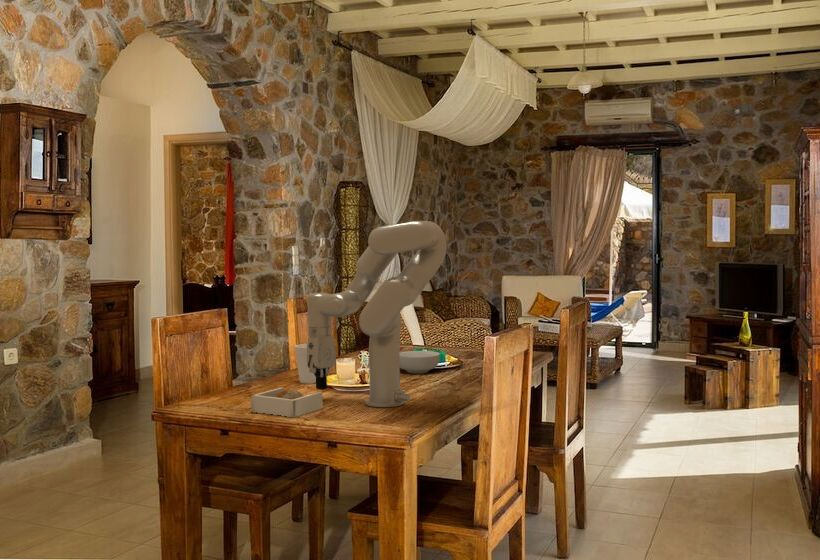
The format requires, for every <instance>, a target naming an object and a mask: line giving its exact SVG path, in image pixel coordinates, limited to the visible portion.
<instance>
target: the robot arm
mask: <svg viewBox="0 0 820 560" xmlns="http://www.w3.org/2000/svg"><path fill="white" fill-rule="evenodd" d="M367 242H368V246H367V248H366V249H365V250H364V252H363V253H362V254H361V255H360V257H359V258H358V260H357V261H356V265H355V267H356V273H355V276H354V277H353V279H352V280H351V282H350V283H349V285H348V286H347V287H346V289H345V290H344V291H341V292H337V293H332V294H329V293H327V292H314V293H310V294H309V295H307V298H306V299H307V300H306V301H307V334H308V335H307V336H308V337H307V341H306V342H307V343H306V344H307V366H308V367H309V368H310V369H309V372H310V373H314V376H315V377H316V383H315V388H316V390H322V391H325V390H326V389H328V380H327V379H328V376H329V371H330V370H331V369H332V368H333V366H335V365H336V364H337V354H336V342H335V338H334V335H333V328H332V327H333V326H332V323H333V322H332V321H333V319H332V318H343V317H345V316H348V315H352V314H354V313H357V311H358V310H359V309H360V308H361V307H362V306H363V305H364V304H365V302H366V301H367V299H368V298H369V297H370V295H371V294H372V292H373V291H374V289H375V287H376V285H377V283H378V280H379V279H380V277H381V275H383V273H384V271H385V270H386V269H387V268H388V266H389V265H390V264H391V262H392V261H393V260H394V259H395V257H396V256H397V255H398V254H400V253H405V252H412V251H416V253H415V254H414V255H413V256H412V258H411V259H410V260H409V261H408V263H407V264H406V265H405V267H404V268H403V269H402V270H401V272H399V273H398V275H396V276H393V277H392V276H391V277H390V278H388V279H387V280H385V281H384V282H383V283H382V284H381V285H380V286H379V288H378V289H377V290H376V291H375V292H374V294H373V295H372V297H371V298H370V299H369V301H367V304H366V305H365V306H364V307H363V309H362V311H361V312H360V314H359V317H358V324H359V325H358V326H359V328H360V330H361V331H362V332H363V334H364V335H366V336H369V342H368V361H369V364H368V368H369V369H368V370H369V371H368V372H369V373H368V375H369V376H368V377H369V378H368V379H369V383H368V384H369V397H367V398H365V399H364V404H365V405H366V406H369V407H374V408H394V407H400V406H404V405H405V403H406V402H408V401H410V399H411V394H410V393H404V389H403V388H401V377H400V376H401V371H400V369H401V368H400V352H401V349H400V348H401V347H400V346H401V331H402V314H401V312H402V310H403V309H404V308H405V307H408V306H411V305H412V304H414V302H415V301H417V299H418V297H420V294H421V293H422V291H423V290H425V288H426V287H427V285H428V283H429V282H431V281H430V280H431V279H432V278H433V276H434V275H435V273H437V272H438V270H439V268H440V266H441V265H442V264H443V261H444V259H445V257H446V253H447V248H448V247H447V239H446V236H445V233H444V231H443V229H442V228H441V226H439V225H438V224H437V223H435V222H434V221H431V220H430V221H429V220H414V221H409V222H407V221H406V222H404V223H398V224H396V223H395V224H392V225H382V226H377V227H375V229H373V230H371V232H370V234H369V236H368V239H367Z"/></svg>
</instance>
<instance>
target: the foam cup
mask: <svg viewBox="0 0 820 560" xmlns="http://www.w3.org/2000/svg"><path fill="white" fill-rule="evenodd" d="M294 353H295V359H296V364H297V365H296V366H297V373H298V379H299V380H298V381H299V383H301V384H316V377H315V376H314V373H310V372H309V369H310V368H309V367H308V366H307V343H302V344H296V345H294Z"/></svg>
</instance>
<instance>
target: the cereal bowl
mask: <svg viewBox="0 0 820 560" xmlns="http://www.w3.org/2000/svg"><path fill="white" fill-rule="evenodd" d="M440 356H441V355H440V353H439V352H437V351H430V350H410V351H400V369H402V370H404V371H406V372H407V373H408V374H409V373H410V374H425V373H426V374H427V373H428V372H429V371H430V370H431V371H432V370H433V369H435V368H436V367H438V365H439V363H440V360H441V357H440Z"/></svg>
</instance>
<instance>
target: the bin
mask: <svg viewBox="0 0 820 560" xmlns="http://www.w3.org/2000/svg"><path fill="white" fill-rule="evenodd" d="M284 390H285V387H279V388H278V387H277V388H275V389H271V390H270V389H269V390H267V391H263V392H259V393H254V394H252V395H251V396H250V402H251V404H250V406H251V407H250V409H251V412H250V413H256V412H257V413H256V414H263V413H265V414H264V415H270V414H273V415H272V416H277V415H281V416H280V417H284V416H287V417H286V418H291V417H292V418H297V417H299V416H303V414H304V415H307V414H309V413H313V412H316V411H319V410H322V409H323V392H322V391H317V392H314V393H310V394H308V395H303V397H300V398H296V399H293V400H292V399H284V398H276V397H275V396H276V395H277V394H278V393H280V392H281V391H284ZM306 413H307V414H306ZM292 418H291V419H292Z"/></svg>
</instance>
